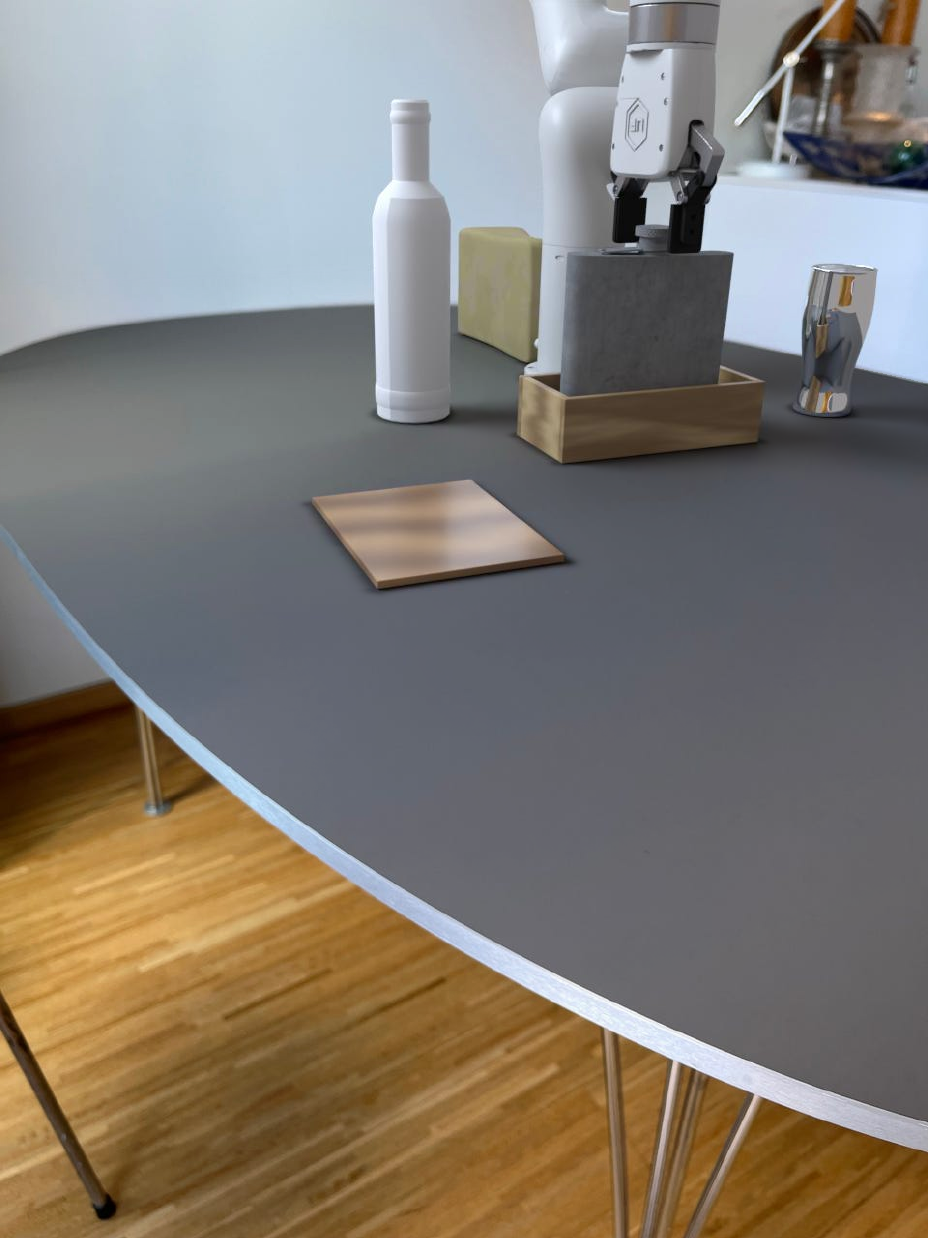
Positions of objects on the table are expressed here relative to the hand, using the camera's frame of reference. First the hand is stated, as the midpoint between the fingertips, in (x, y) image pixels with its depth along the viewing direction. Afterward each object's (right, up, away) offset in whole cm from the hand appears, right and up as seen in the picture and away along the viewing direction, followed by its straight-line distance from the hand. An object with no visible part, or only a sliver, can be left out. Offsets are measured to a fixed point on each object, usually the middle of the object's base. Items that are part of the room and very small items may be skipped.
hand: (654, 247), depth 95 cm
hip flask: (0, -16, +8) cm, 18 cm away
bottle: (-23, -12, +16) cm, 30 cm away
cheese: (-11, +3, +48) cm, 49 cm away
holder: (0, -16, +8) cm, 18 cm away
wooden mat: (-20, -27, -15) cm, 37 cm away
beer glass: (+22, -11, +19) cm, 31 cm away
